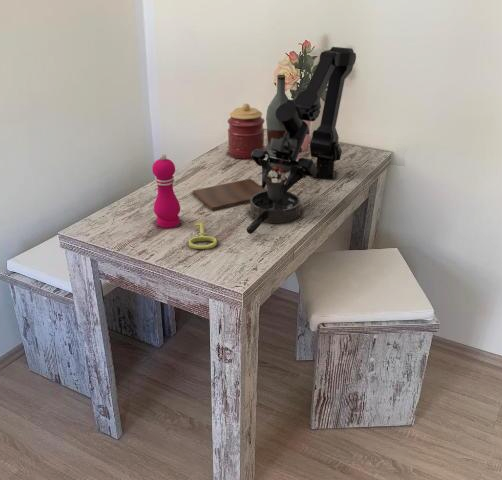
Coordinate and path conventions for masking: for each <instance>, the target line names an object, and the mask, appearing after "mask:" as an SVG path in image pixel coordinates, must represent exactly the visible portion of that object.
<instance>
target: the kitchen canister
mask: <svg viewBox="0 0 502 480" xmlns="http://www.w3.org/2000/svg"><path fill="white" fill-rule="evenodd" d="M229 116H230V117H229V118H228V119H227V123H228V129H227V134H228V135H227V137H228V139H227V140H228V141H227V143H228V146H227V151H228V154H229V156H231V157H234V158H236V159H246V160H248V159H249V160H250V159H252V157H251V154H252V152H253V150H255V149H261V150H265V145H264V144H265V128H264V123H265V121H266V119H264V118H263V117H262V116H263V112H262V111H260V110H259V109H258V108H255V107H250V104H249V103H243V104H242V106H241V107H237V108H234V109H233V110H232V111H230V113H229Z"/></svg>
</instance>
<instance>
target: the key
mask: <svg viewBox="0 0 502 480" xmlns="http://www.w3.org/2000/svg"><path fill="white" fill-rule="evenodd" d="M193 226H194V227H199V234H198V235H197V236H194V237H191V238H190V239H188V247H189V248H191V249H193V250H208V249H213V248H215V247H216V246H217V244H218V240H217V238H215V237H214V236H211V235H207V234H206V233H205V222H204V221H203V220H201V221H199V222H194V223H193ZM198 242H210V243H209V244H203V245H202V244H201V245H200V244H195V243H198Z"/></svg>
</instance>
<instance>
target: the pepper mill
mask: <svg viewBox="0 0 502 480" xmlns="http://www.w3.org/2000/svg"><path fill="white" fill-rule="evenodd" d="M158 158H159V159H157V160H155V161H154V163H153V164H152V168H151V171H152V174H153V175H154V181H155V184H156V186H157V196H156V198H155V200H154V204H153V213H154V214H155V216H157V217H156V225H157V227H159V228H163V229H171V228H175V227H177V226H178V225H179V224H180V216H179V214H180V212H181V204H180V202H179V199H178V198H177V196H176V194H175V190H174V185H173V184H175V176H174V175H175V173H176V166H175V163H174V162H173V161H172V160H170V159H169V158H167V155H166V154H165V153H160V154H159V157H158Z"/></svg>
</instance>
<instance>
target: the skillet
mask: <svg viewBox="0 0 502 480" xmlns="http://www.w3.org/2000/svg"><path fill="white" fill-rule="evenodd" d="M301 202H302V200H301V198H300V197H299V196H298V195H297V194H295V193H293V192H290V191H287V192H286V193H283V196H282V198H281V199H280V200H278V201H277V207H278V208H279V209H282V210H268V209H270V208H273V201H272V200H271V199H270V198H269V197H268V191H262V192H259V193H256V194H255V195H253V196H252V197H251V199H250V202H249V213H250V216H251V217H252V218H253V219H254V220H255V219H256V218H257V217H258V216H259V215H260V214H261V213H262V212H263V211H267V212H268V217H267V218H266V219H265V220H264V221H263V223H267V224H268V223H269V224H284V223H288V222H289V223H290V222H292V221H294V220H296V219H297V218H298V217H299V216H300V214H301V204H302V203H301Z"/></svg>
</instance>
